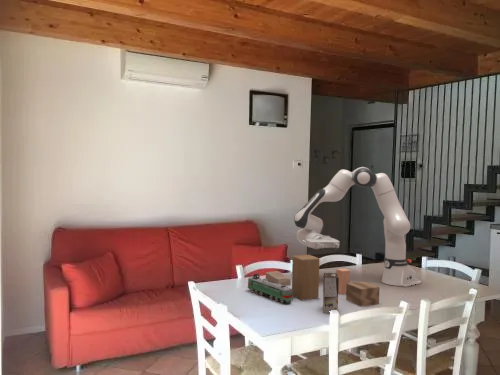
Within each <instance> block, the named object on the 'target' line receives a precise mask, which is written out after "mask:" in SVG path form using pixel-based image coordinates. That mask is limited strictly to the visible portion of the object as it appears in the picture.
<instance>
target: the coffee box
mask: <svg viewBox="0 0 500 375" xmlns="http://www.w3.org/2000/svg"><path fill="white" fill-rule="evenodd" d="M338 288H339V277H338V275H337V273H336V272H323V290H322V292H323V293H322V309H323V313H324V314H325V313H326V314H330V313H329V311H331V310H337V311H338V312H339V293H338Z"/></svg>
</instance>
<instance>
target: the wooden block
mask: <svg viewBox="0 0 500 375" xmlns="http://www.w3.org/2000/svg"><path fill="white" fill-rule="evenodd" d="M291 265H292V270H291V272H292V274H291V275H292V278H291V289H293V290H292V296H293V297H295V298H297V299H299V300H300V301H304V300H305V301H306V300H312V299H313V300H314V299H319V285H320V284H319V283H320V258H319V257H317V256H314V255H311V254H301V255H297V254H296V255H293V256H292V264H291Z"/></svg>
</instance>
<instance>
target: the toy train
mask: <svg viewBox="0 0 500 375" xmlns="http://www.w3.org/2000/svg"><path fill="white" fill-rule="evenodd" d="M260 277H261V276H260V275H259V272H257V273H254V274H253V275H252V276H249V277H248V278H247V280H248V281H247V288H248V290H250V292H251V293H255V294H256V295H258V294H259V295H260V296H265V297H269V298H270V300H273V299H274V300H275V302H280V303H281V304H283V303H286V304H289V303H292V301H293V295H292V290H293V289H292V287H289V286H286V285H284V286H283V285H281V284H278V283H274V282H271V281H268V280H266V278H260Z"/></svg>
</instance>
